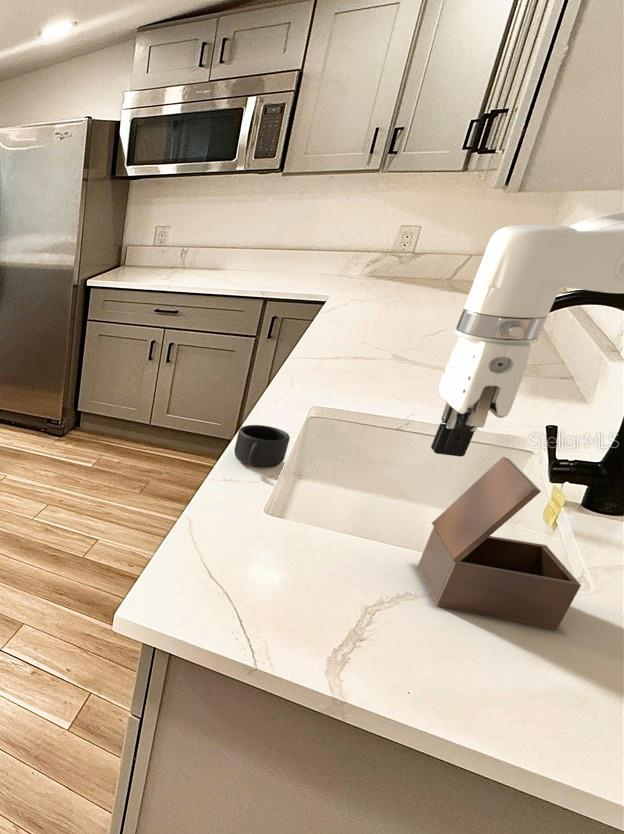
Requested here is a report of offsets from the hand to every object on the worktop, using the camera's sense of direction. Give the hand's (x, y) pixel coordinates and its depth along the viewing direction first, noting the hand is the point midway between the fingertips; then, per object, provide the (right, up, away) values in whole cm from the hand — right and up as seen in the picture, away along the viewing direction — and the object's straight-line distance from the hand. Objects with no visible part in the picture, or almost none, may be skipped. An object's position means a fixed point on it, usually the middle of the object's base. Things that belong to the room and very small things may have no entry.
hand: (446, 452), depth 87 cm
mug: (+5, -4, +46) cm, 46 cm away
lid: (+6, -8, 0) cm, 10 cm away
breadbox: (+10, -22, +5) cm, 24 cm away
